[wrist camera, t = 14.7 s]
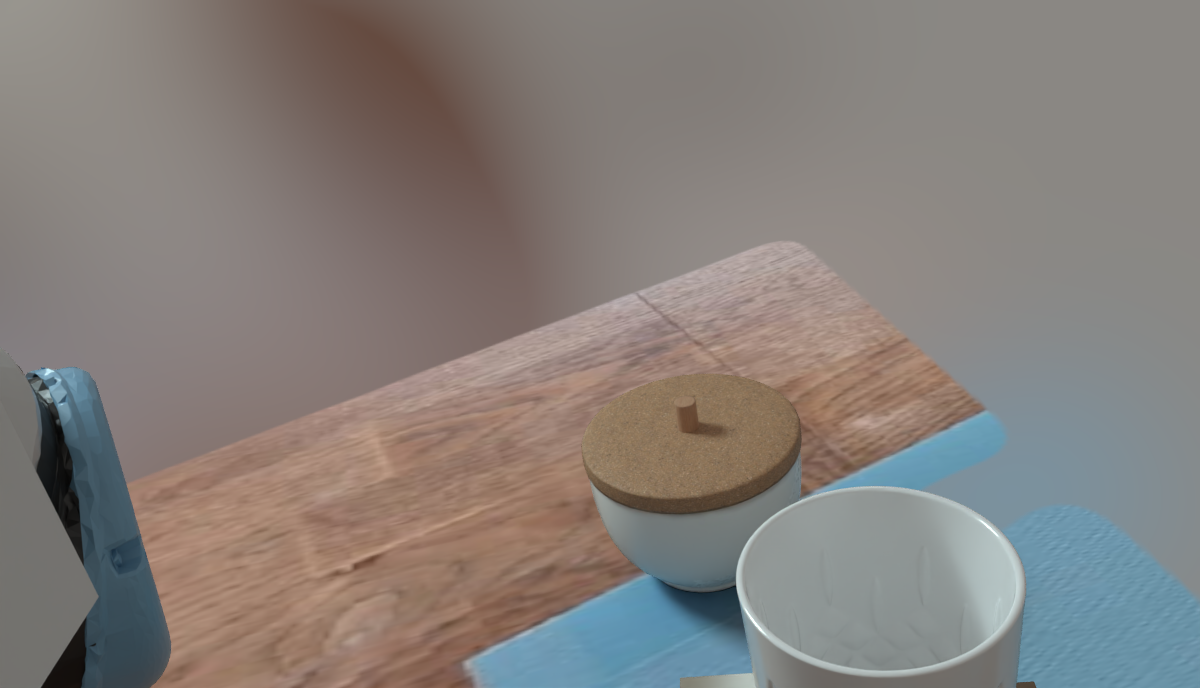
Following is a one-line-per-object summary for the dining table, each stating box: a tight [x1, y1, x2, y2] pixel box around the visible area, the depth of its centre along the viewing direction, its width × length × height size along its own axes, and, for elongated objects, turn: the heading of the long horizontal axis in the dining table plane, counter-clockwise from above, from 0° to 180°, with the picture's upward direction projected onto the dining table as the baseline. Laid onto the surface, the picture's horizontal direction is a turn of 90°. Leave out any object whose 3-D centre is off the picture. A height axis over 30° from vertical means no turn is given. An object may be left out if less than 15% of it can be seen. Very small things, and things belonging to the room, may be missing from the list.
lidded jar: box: [581, 374, 801, 592], centre depth 55 cm, size 11×11×9 cm
